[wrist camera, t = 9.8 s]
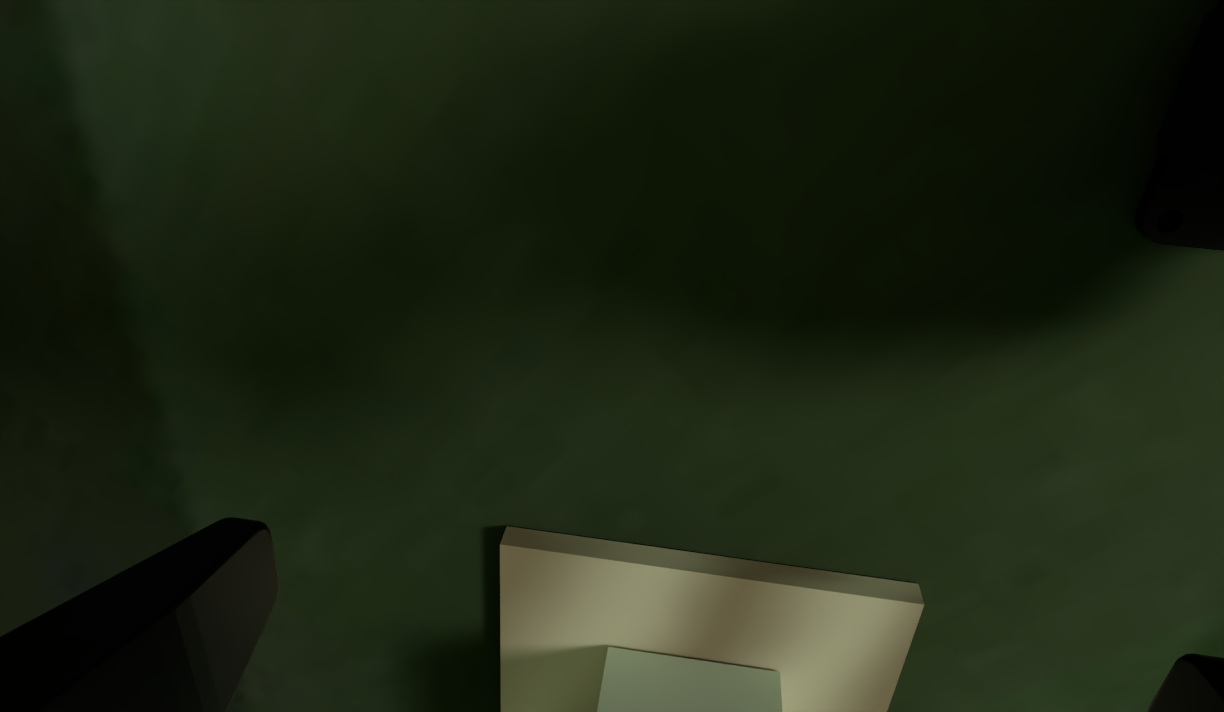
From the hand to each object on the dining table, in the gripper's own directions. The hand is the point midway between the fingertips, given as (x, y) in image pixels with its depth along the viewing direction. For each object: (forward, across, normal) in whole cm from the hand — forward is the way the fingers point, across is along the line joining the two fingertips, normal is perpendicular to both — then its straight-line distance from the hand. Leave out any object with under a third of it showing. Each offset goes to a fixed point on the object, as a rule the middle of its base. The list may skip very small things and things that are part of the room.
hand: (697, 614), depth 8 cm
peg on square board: (+12, -1, +16) cm, 20 cm away
